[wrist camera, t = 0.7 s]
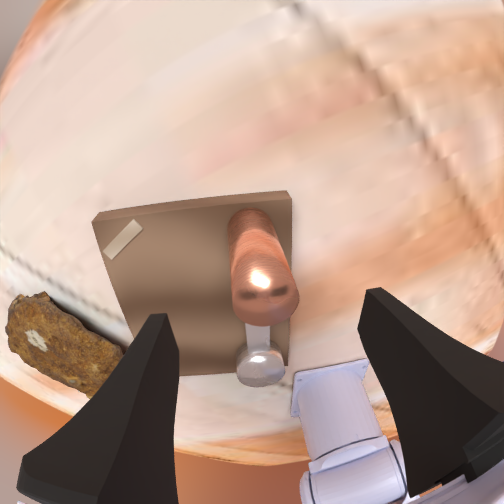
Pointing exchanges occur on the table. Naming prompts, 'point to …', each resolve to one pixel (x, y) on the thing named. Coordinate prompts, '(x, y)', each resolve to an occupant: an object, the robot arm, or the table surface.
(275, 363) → the lever
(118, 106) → the table surface
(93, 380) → the decorative rock
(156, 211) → the board
